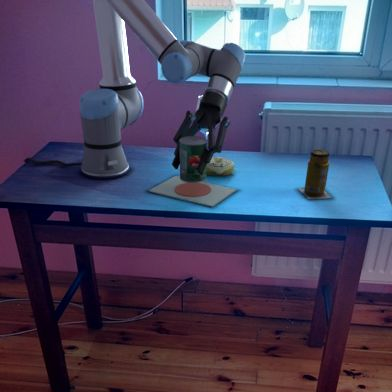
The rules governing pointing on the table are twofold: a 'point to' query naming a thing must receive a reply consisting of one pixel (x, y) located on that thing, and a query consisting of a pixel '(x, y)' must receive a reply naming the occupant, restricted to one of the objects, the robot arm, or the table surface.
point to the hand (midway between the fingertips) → (187, 169)
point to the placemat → (193, 191)
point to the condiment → (316, 175)
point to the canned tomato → (192, 158)
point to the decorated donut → (219, 166)
